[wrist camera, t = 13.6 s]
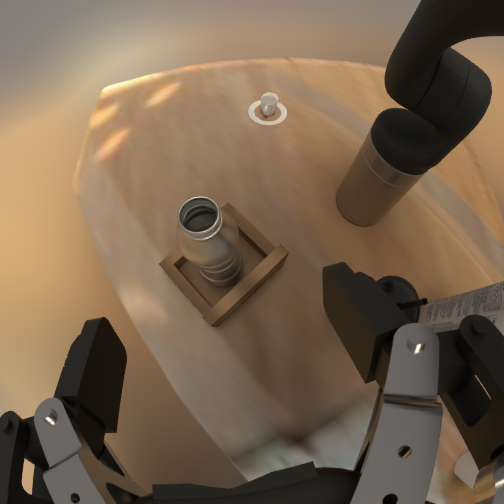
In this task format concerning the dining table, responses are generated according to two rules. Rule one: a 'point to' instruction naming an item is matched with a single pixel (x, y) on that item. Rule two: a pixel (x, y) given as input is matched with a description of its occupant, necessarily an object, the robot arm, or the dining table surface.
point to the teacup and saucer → (268, 109)
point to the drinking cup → (403, 296)
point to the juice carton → (465, 309)
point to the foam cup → (466, 469)
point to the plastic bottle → (209, 240)
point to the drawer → (232, 296)
